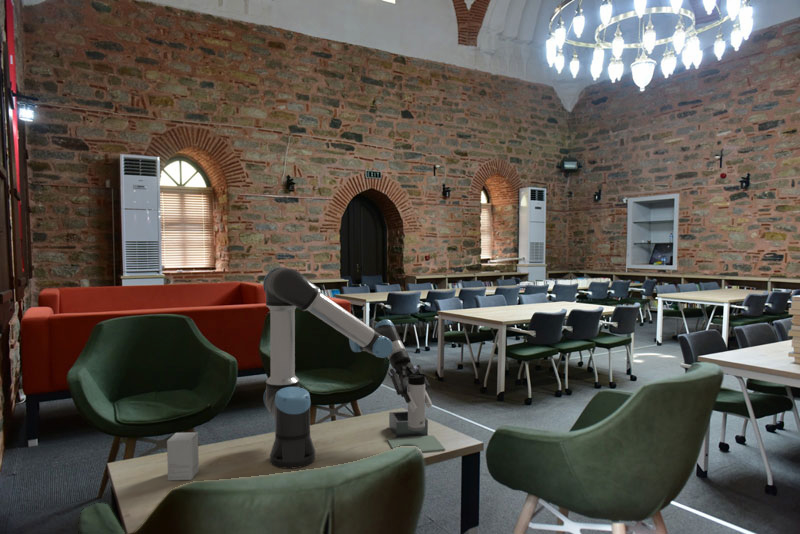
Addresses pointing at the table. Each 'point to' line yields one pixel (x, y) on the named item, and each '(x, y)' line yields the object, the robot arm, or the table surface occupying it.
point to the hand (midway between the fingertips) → (422, 408)
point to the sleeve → (404, 425)
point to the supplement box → (182, 456)
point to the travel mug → (417, 402)
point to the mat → (418, 443)
